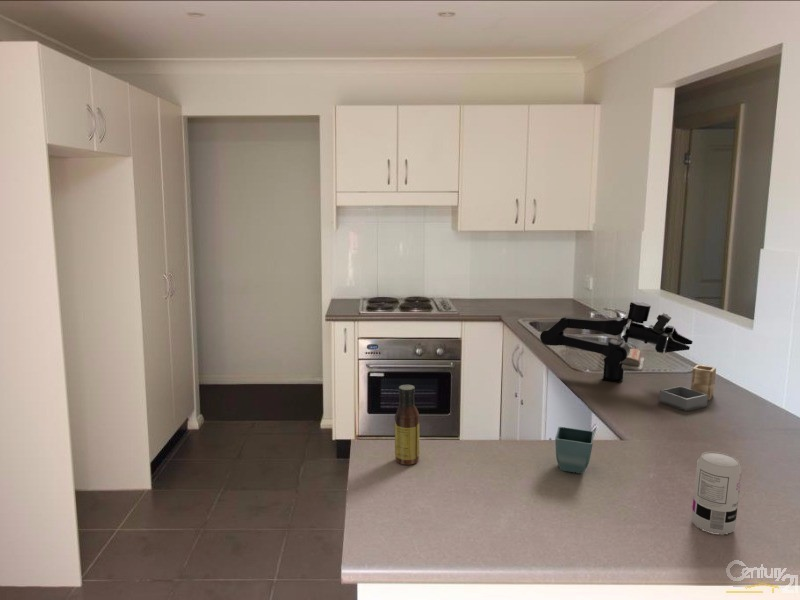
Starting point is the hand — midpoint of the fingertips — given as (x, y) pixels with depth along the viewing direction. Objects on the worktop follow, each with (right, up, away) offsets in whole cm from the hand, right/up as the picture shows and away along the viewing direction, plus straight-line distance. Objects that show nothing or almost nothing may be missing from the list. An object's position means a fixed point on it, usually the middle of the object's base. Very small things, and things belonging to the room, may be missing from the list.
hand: (690, 345), depth 217 cm
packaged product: (-8, -11, +37) cm, 39 cm away
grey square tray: (-8, -18, -11) cm, 23 cm away
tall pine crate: (+2, -17, -3) cm, 17 cm away
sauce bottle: (-98, -26, -56) cm, 116 cm away
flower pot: (-57, -27, -59) cm, 86 cm away
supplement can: (-35, -32, -85) cm, 97 cm away
